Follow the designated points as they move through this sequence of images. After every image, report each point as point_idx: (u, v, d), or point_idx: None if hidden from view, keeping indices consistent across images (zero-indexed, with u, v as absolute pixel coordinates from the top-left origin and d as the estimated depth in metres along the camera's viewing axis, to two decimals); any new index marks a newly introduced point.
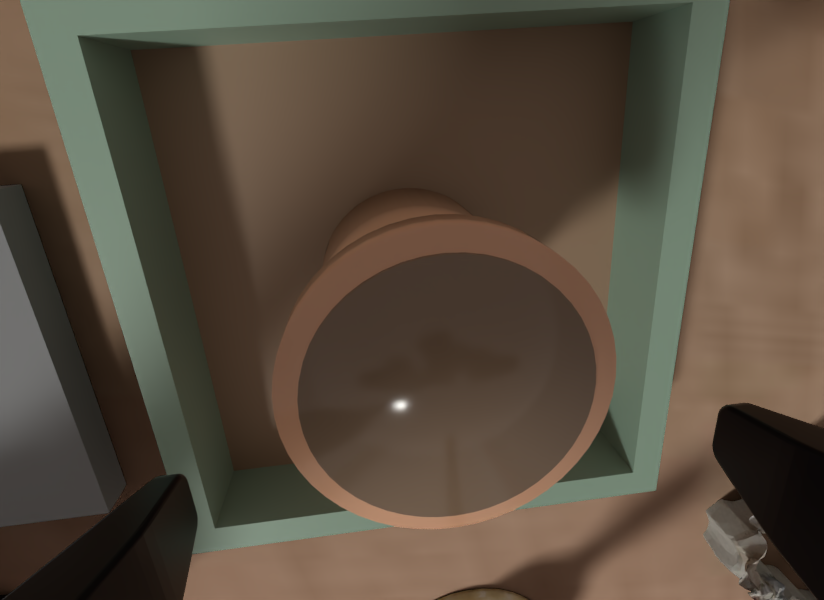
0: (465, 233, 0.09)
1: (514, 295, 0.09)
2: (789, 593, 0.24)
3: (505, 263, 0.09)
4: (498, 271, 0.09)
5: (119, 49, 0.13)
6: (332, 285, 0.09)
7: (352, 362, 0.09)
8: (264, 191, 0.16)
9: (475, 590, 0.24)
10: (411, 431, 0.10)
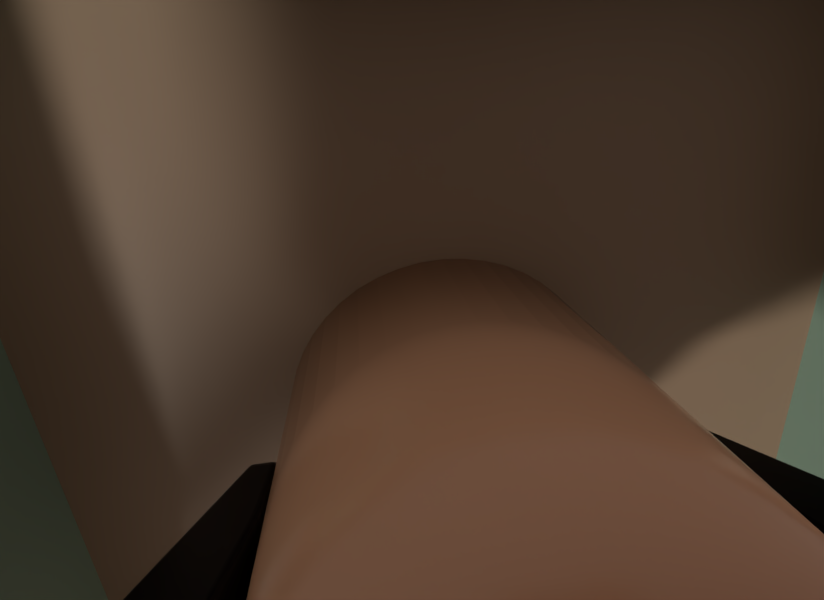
0: None
1: None
2: None
3: None
4: None
5: None
6: None
7: None
8: (174, 270, 0.08)
9: None
10: None
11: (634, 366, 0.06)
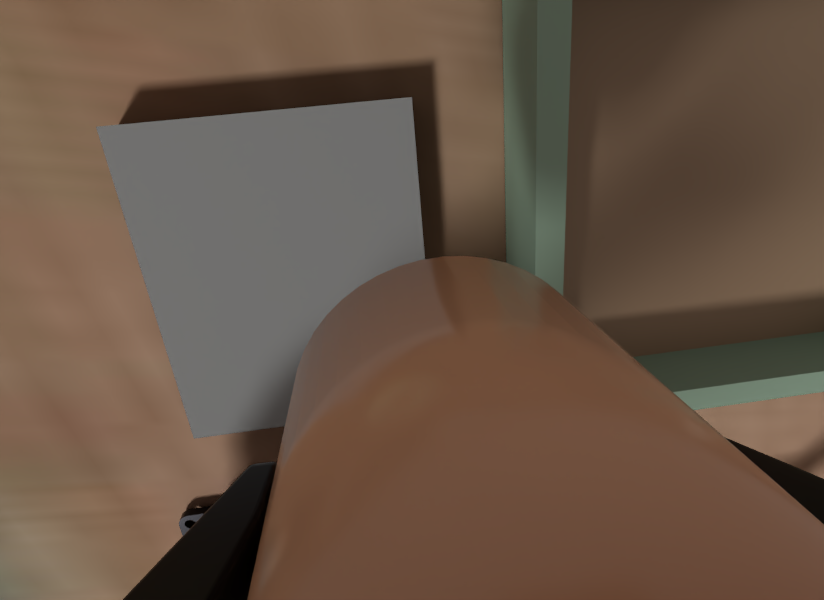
0: None
1: None
2: None
3: None
4: None
5: None
6: None
7: None
8: (618, 100, 0.18)
9: None
10: None
11: (637, 362, 0.06)
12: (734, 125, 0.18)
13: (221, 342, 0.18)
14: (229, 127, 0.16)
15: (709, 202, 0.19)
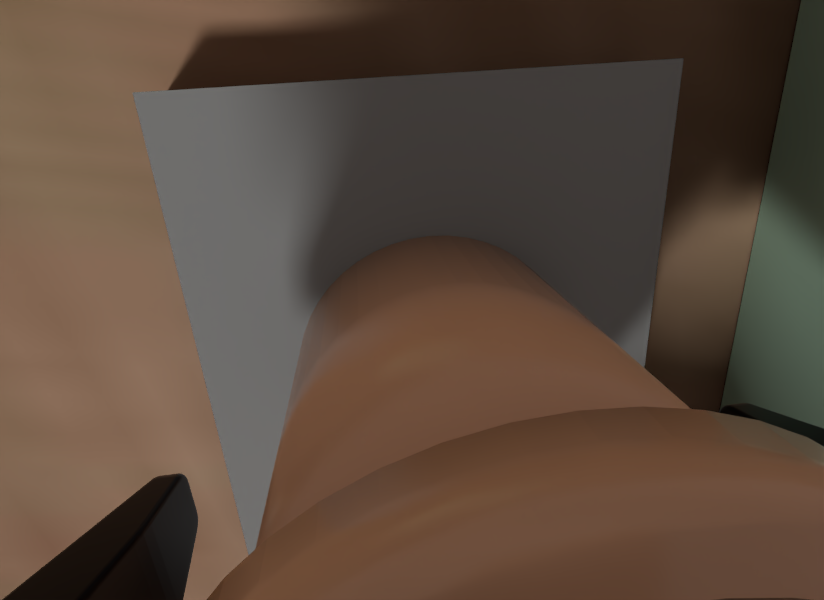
0: (739, 547, 0.02)
1: None
2: None
3: None
4: None
5: None
6: None
7: None
8: None
9: None
10: None
11: (583, 315, 0.07)
12: None
13: None
14: (370, 101, 0.09)
15: None
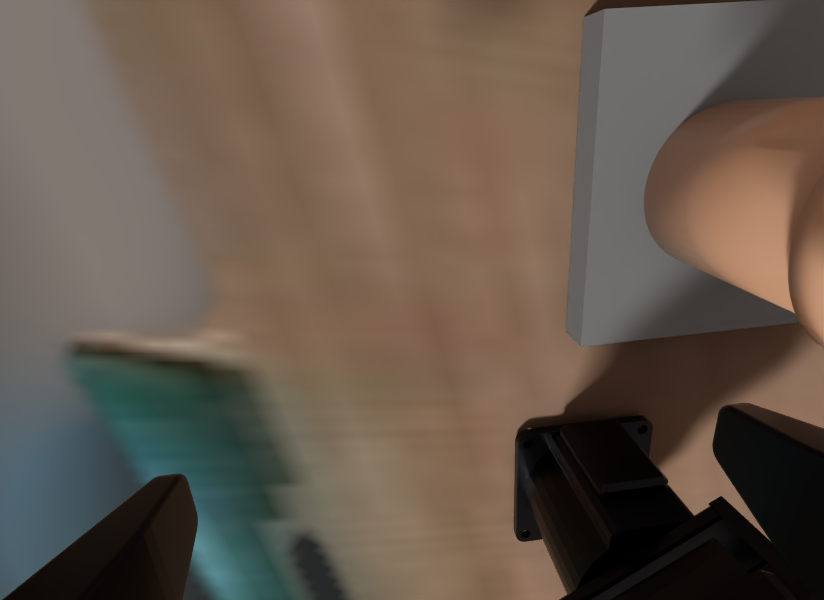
0: None
1: None
2: None
3: None
4: None
5: None
6: None
7: None
8: None
9: None
10: None
11: None
12: None
13: (639, 244, 0.19)
14: (722, 16, 0.16)
15: None
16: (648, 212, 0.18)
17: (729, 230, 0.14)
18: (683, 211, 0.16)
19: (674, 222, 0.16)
